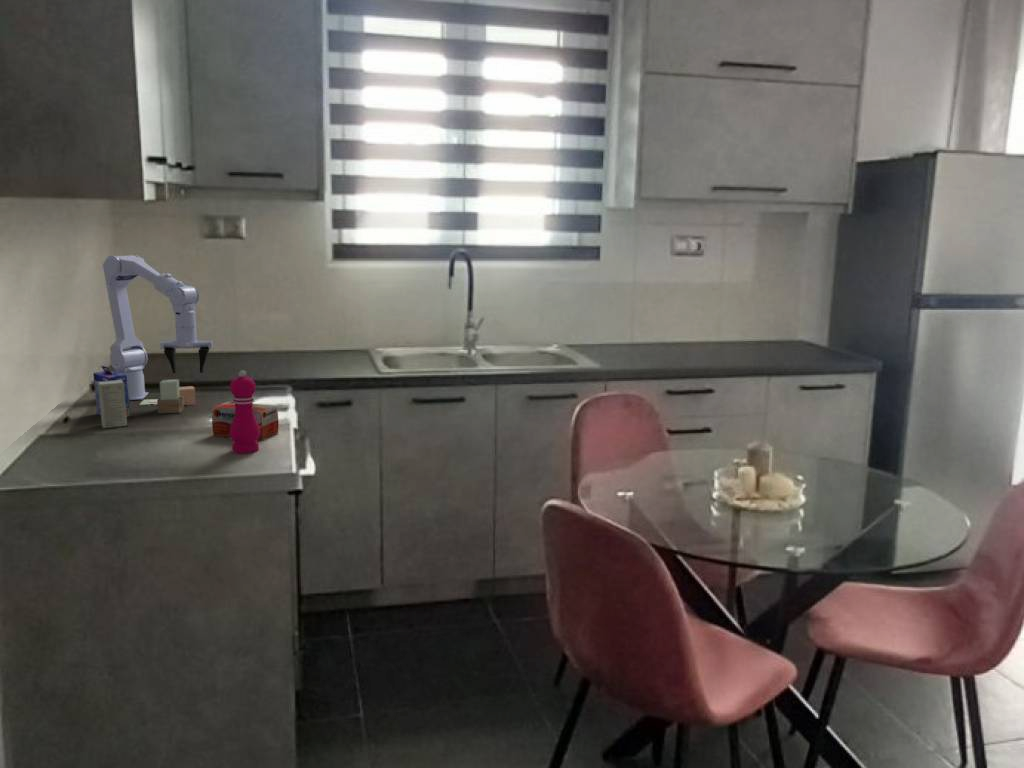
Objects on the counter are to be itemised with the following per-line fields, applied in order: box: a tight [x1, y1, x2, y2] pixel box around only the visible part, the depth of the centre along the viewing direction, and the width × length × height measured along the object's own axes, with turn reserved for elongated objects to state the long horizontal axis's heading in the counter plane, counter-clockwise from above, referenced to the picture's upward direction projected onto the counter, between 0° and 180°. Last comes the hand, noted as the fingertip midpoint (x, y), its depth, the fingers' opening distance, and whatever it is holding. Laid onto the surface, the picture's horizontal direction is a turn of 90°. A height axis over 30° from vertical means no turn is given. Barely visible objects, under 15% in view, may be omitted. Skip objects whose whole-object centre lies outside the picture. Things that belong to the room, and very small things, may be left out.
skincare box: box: [98, 380, 128, 429], centre depth 234 cm, size 6×4×12 cm
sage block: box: [159, 379, 180, 400], centre depth 253 cm, size 4×4×5 cm
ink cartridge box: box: [92, 365, 131, 418], centre depth 246 cm, size 10×6×14 cm, turn 51°
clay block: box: [179, 385, 197, 406], centre depth 263 cm, size 4×4×5 cm
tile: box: [139, 398, 159, 406], centre depth 264 cm, size 7×7×1 cm
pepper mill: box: [229, 369, 260, 454], centre depth 212 cm, size 7×7×20 cm
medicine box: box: [211, 401, 280, 441], centre depth 228 cm, size 15×8×8 cm, turn 74°
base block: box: [156, 396, 185, 414], centre depth 254 cm, size 6×6×4 cm
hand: (188, 372), depth 258 cm, fingers open, 7 cm apart
